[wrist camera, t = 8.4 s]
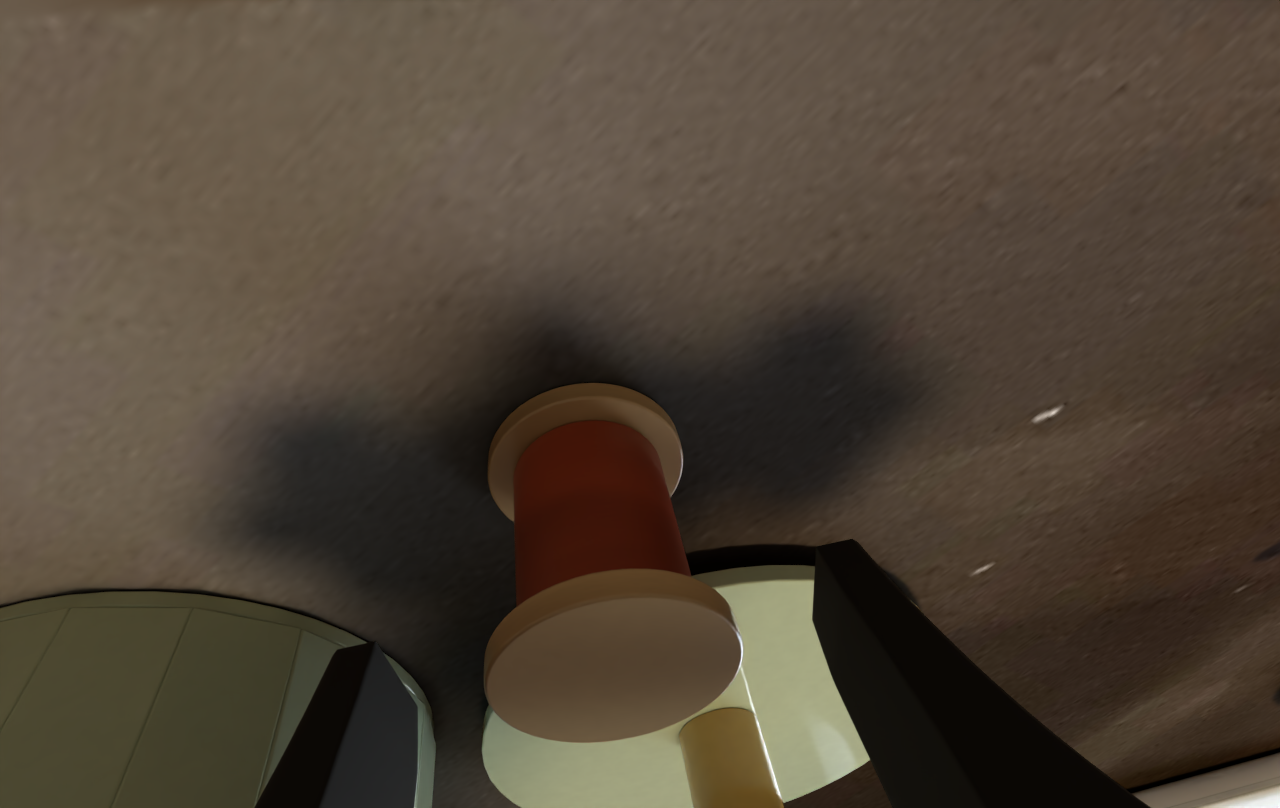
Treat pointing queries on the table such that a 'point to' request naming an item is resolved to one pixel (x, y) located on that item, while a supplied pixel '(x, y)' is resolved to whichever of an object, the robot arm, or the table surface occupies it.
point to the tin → (161, 699)
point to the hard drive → (1222, 788)
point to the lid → (709, 724)
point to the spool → (600, 574)
